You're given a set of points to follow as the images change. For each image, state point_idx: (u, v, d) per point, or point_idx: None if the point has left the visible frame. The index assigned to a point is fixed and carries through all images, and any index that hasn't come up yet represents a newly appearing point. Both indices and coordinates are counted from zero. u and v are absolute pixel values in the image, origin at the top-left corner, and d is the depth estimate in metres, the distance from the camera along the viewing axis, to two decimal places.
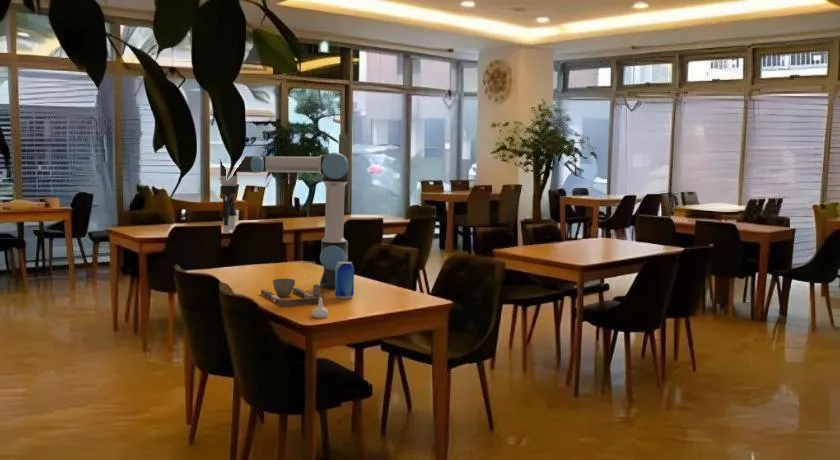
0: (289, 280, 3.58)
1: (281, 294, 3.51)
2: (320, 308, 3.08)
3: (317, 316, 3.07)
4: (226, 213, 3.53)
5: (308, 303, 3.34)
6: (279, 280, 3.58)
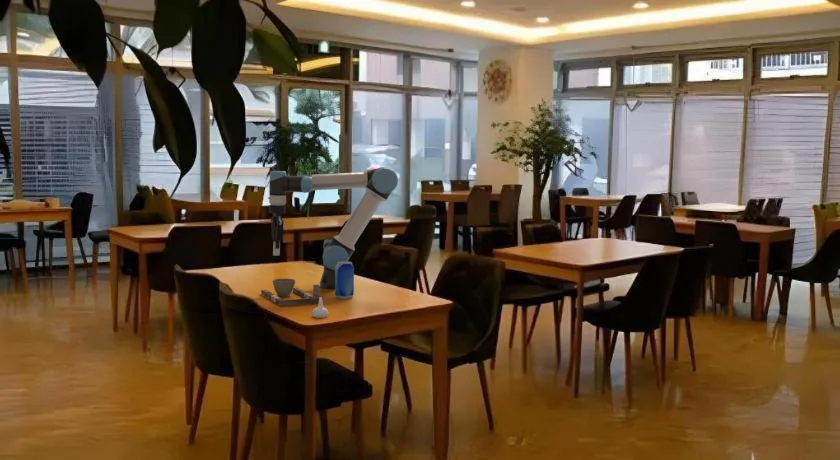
0: (289, 280, 3.58)
1: (281, 294, 3.51)
2: (320, 308, 3.08)
3: (317, 316, 3.07)
4: (280, 237, 3.59)
5: (308, 303, 3.34)
6: (279, 280, 3.58)
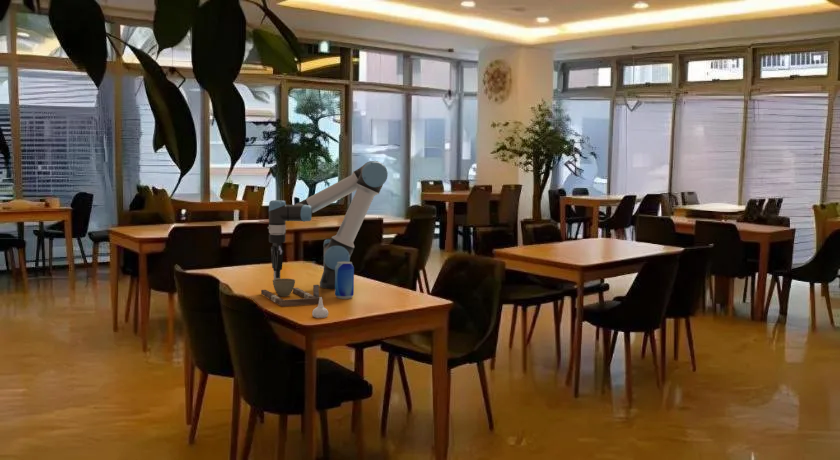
0: (289, 280, 3.58)
1: (281, 294, 3.51)
2: (320, 308, 3.08)
3: (317, 316, 3.07)
4: (280, 267, 3.60)
5: (308, 303, 3.34)
6: (279, 280, 3.58)
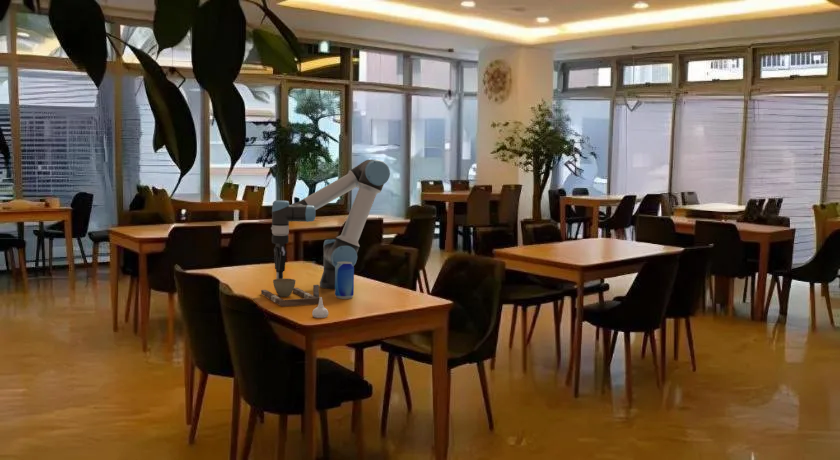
0: (289, 280, 3.57)
1: (282, 294, 3.50)
2: (320, 308, 3.08)
3: (317, 316, 3.07)
4: (283, 268, 3.55)
5: (308, 303, 3.34)
6: (279, 280, 3.57)
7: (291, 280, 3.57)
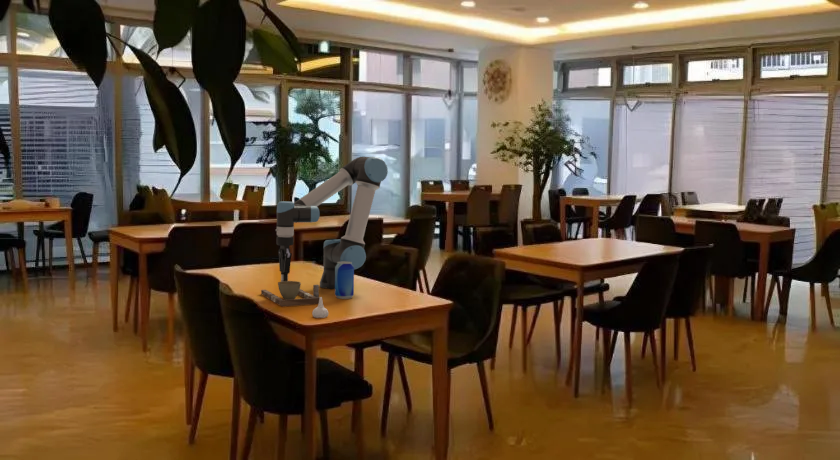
0: (294, 283, 3.51)
1: (287, 297, 3.44)
2: (320, 308, 3.08)
3: (317, 316, 3.07)
4: (288, 270, 3.48)
5: (308, 303, 3.34)
6: (284, 283, 3.50)
7: (296, 283, 3.50)
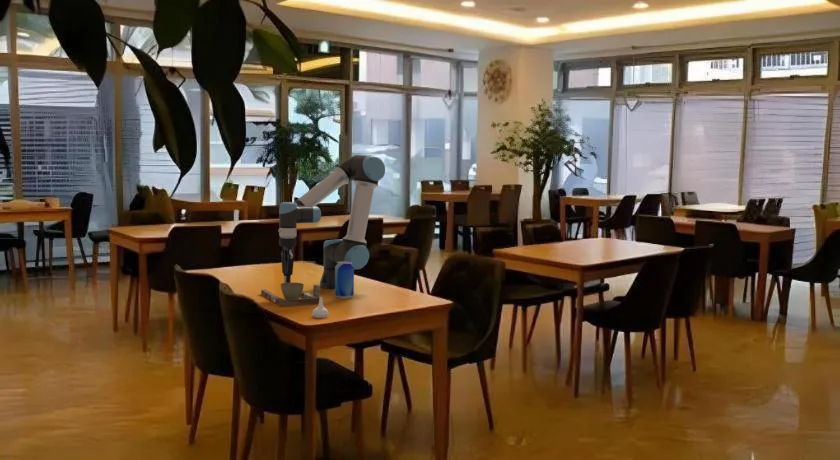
0: (297, 284, 3.47)
1: None
2: (320, 308, 3.08)
3: (317, 316, 3.07)
4: (291, 272, 3.45)
5: (308, 303, 3.34)
6: (287, 284, 3.47)
7: (299, 284, 3.47)
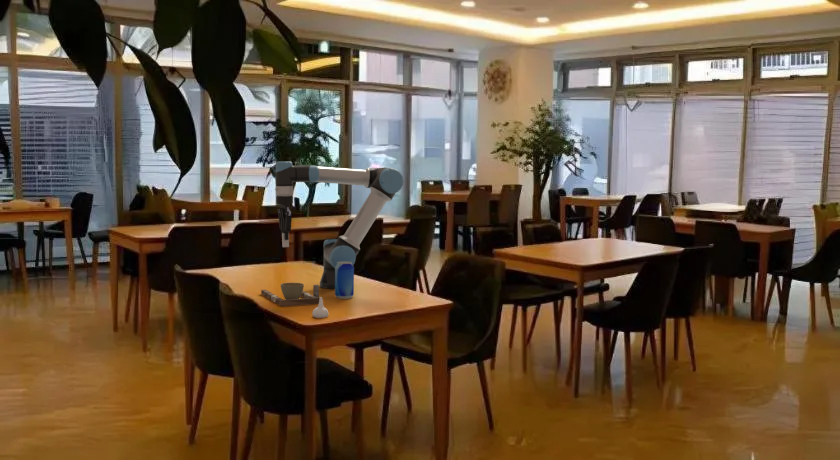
0: (297, 284, 3.47)
1: None
2: (320, 308, 3.08)
3: (317, 316, 3.07)
4: (289, 229, 3.55)
5: (308, 303, 3.34)
6: (287, 284, 3.47)
7: (299, 284, 3.47)
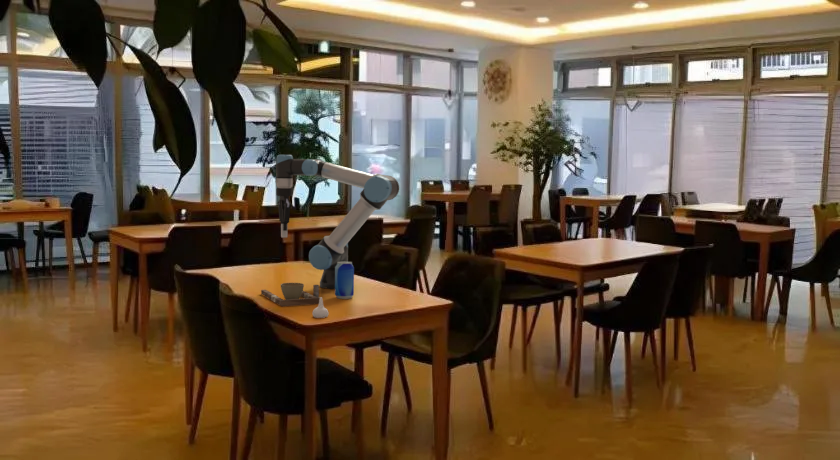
0: (297, 284, 3.47)
1: None
2: (320, 308, 3.08)
3: (317, 316, 3.07)
4: (288, 220, 3.68)
5: (308, 303, 3.34)
6: (287, 284, 3.47)
7: (299, 284, 3.47)
